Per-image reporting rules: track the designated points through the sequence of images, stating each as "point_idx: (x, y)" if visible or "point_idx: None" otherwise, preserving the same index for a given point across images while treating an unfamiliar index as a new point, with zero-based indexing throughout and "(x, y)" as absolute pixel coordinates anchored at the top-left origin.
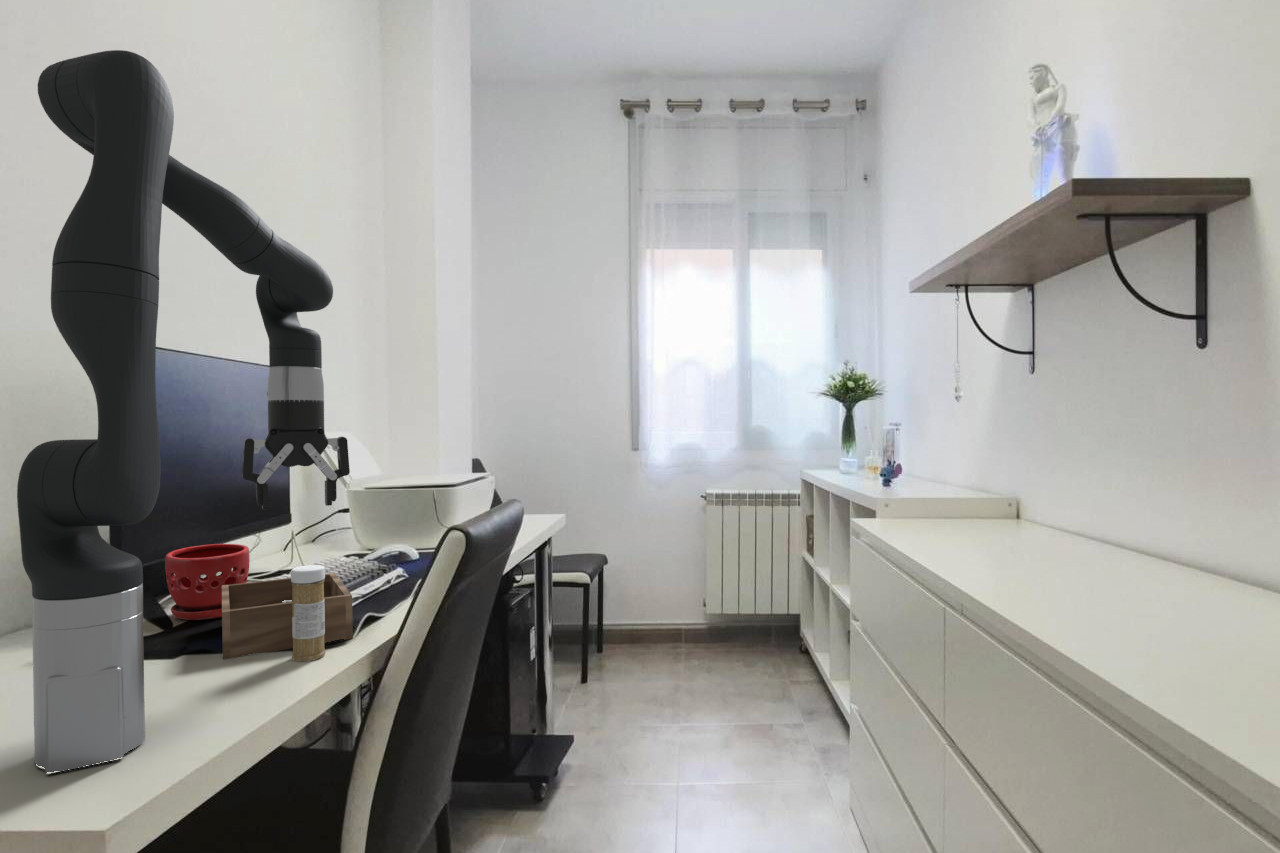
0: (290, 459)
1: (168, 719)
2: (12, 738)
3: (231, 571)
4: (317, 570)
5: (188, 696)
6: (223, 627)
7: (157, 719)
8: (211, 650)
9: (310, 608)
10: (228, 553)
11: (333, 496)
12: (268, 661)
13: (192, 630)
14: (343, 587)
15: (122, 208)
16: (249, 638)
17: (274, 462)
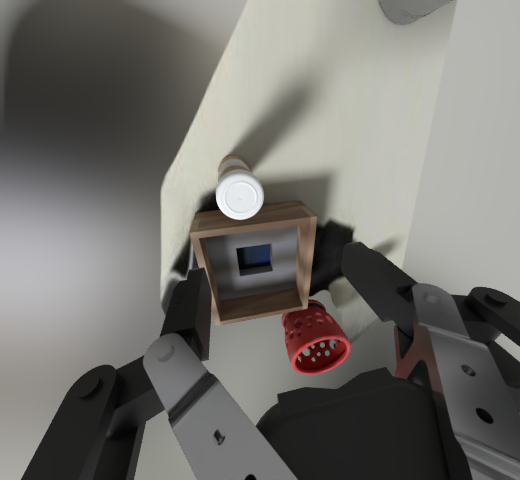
0: (400, 422)
1: (352, 32)
2: (442, 66)
3: (301, 330)
4: (225, 177)
5: (330, 102)
6: (309, 210)
7: (359, 40)
8: None
9: (233, 164)
10: (302, 365)
11: (181, 290)
12: (267, 176)
13: (313, 280)
14: None
15: None
16: (285, 207)
17: (478, 371)
